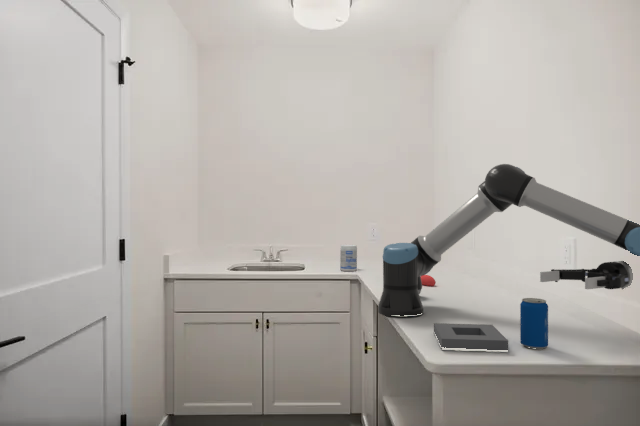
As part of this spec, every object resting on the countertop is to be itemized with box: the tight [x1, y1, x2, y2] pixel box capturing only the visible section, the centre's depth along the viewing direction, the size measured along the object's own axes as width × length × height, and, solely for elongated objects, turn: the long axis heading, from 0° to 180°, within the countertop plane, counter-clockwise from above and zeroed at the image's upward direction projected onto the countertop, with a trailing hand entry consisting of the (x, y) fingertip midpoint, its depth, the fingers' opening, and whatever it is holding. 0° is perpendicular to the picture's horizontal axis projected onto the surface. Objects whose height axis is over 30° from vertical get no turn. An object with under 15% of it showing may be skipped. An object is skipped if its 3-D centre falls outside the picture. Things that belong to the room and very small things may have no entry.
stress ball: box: [421, 274, 437, 287], centre depth 217 cm, size 5×9×6 cm, turn 16°
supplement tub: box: [339, 244, 358, 272], centre depth 269 cm, size 10×10×15 cm
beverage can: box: [519, 297, 549, 350], centre depth 119 cm, size 6×6×12 cm
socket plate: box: [433, 322, 509, 351], centre depth 123 cm, size 16×16×3 cm
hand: (562, 280), depth 123 cm, fingers open, 13 cm apart
